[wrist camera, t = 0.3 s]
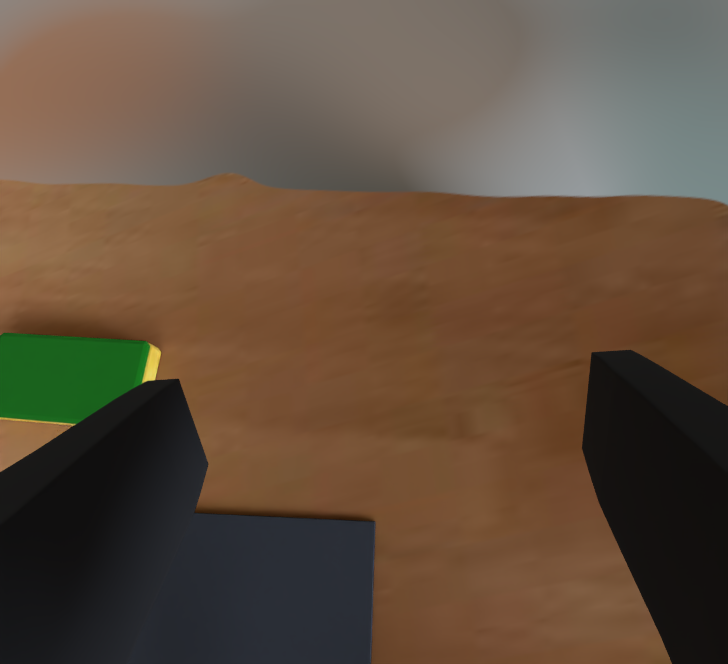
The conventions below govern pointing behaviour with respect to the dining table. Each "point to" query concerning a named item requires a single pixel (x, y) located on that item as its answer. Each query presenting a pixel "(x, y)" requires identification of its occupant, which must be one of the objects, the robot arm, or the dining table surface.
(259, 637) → the mat
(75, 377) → the dish sponge
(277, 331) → the dining table surface
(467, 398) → the dining table surface
